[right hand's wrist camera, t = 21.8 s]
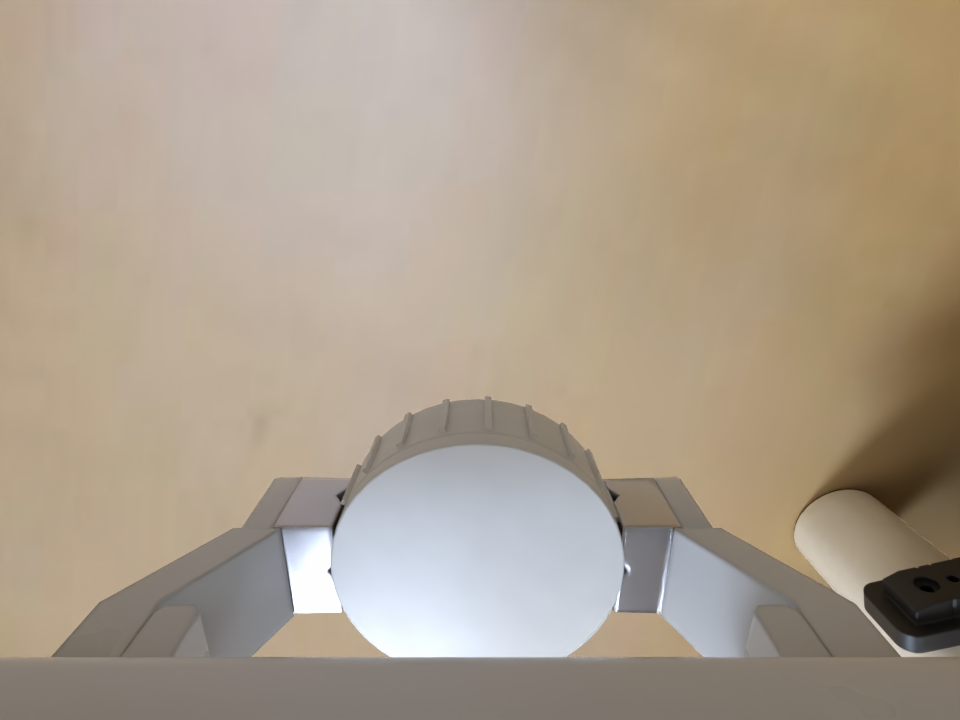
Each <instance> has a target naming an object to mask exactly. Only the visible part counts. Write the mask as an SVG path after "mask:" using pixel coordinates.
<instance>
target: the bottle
mask: <svg viewBox="0 0 960 720" xmlns="http://www.w3.org/2000/svg"><path fill="white" fill-rule="evenodd" d="M794 539H795V543H796V546H797V548H798V550H799V551H800V553H801V554H802V555H803V556H804V557H805V559H806V560H807V561H808V562H809V563H810V564H811V565H812V567H813V568H814V569H815V570H816V571H817V572H818V573H819V575H820V576H821V577H822V578H823V579H824V580H825V581H826V583H827V584H828V585H829V586H830V587H831V588H832V589H833V591H834V592H836V593H837V594H839V595H841V596H843V597H845V598H846V599H848V600H850V601H852V602H853V603H855V604H856V605H857V606H858V607H859V608H860V610H861V611H862V612H863V613H864V614H865V615H866V616H867V618H868V619H869V620H870V621H871V622H872V623H873V625H874V626H875V627H876V628H877V629H878V630H879V632H880V633H881V634H882V635H883V636H884V637H885V638H886V640H887V641H888V642H889V643H890V644H891V645H892V647H893V648H894V649H895V650H896V651H897V652H898V654H899V655H900V656H901V657H960V646H955V647H950V648H946V649H941V650H936V651H931V652H926V653H912V652H909V651H906V650H904V649H902V648H900V647H899V646H898V645H896V644H895V643H894V641H893V640H892V639H891V638H890V637H889V636H888V635H887V634H886V633H885V631H884V630H883V629H882V628H881V627H880V626H879V625H878V624H877V623H876V621H875V620H874V619H873V618H872V617H871V616H870V615H869V614H868V613H867V611H866V610H865V608H864V592H863V589H864V586H865V585H866V584H868V583H871V582H876V581H880V580H883V579H884V578H886V577H887V576H889V575H891V574H893V573H895V572H897V571H900V570H905V569H909V568H914V567H916V568H918V566H923V565H927V564H928V565H931V564H932V563H936V562H941V561H946V560H950V559H951V558H950V557H949V556H947V555H946V554H945V553H944V552H942V551H941V550H940V549H939V548H937V547H936V546H935V545H934V544H932V543H931V542H930V541H929V540H927V539H926V538H925V537H924V536H922V535H921V534H920V533H919V532H917V531H916V530H915V529H914V528H912V527H911V526H910V525H909V524H907V523H906V522H905V521H904V520H902V519H901V518H900V517H899V516H897V515H896V514H895V513H893V512H892V511H891V510H890V509H888V508H887V507H886V506H885V505H883V504H882V503H881V502H880V501H878V500H877V499H876V498H875V497H873V496H872V495H870V494H868V493H865V492H863V491H858V490H839V491H835V492H831V493H829V494H826V495H824V496H822V497H820V498H818V499H817V500H815V501H814V502H812V503H811V504H810V505H809V506H808V507H807V508H806V509H805V510H804V511H803V512H802V514H801V515H800V517H799V519H798V521H797V523H796V526H795V530H794Z"/></svg>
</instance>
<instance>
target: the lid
mask: <svg viewBox="0 0 960 720" xmlns="http://www.w3.org/2000/svg"><path fill="white" fill-rule="evenodd" d="M613 503H614V502H613V500H612V497H611V495H610V493H609V490H608V489H607V487H606V485H605V482H604V480H602V477H601V475H600V472H599V470H598V467H597V465H596V462H595V460H594V457H593V455H592V452H591V451H590V450H589V449H588V450H586V451H585V450H584V448H583V447H582V446H581V445H580V444H579V443H578V441H577V440H576V439H575V438H574V437H573V436H572V435H571V434H570V433H569V432H568V429H567V426H566V425H565V424H564V423H561V424H560V425H559V424H557V423H556V422H554V421H552V420H551V419H549V418H547V417H546V416H544V415H542V414H540V413H537V412H535V411H533V410H532V406H530V405H527V404H526V406H525V407H522V406H519V405H515V404H512V403H507V402H501V401H496V400H491V397H485V400H480V399H476V400H460V401H454V402H450V401H449V399H446V400H443V404H440V405H437V406H433V407H430V408H427V409H424V410H422V411H420V412H418V413H416V414H414V415H412V414H411V413H410V412H409V413H408V414H406V415H405V417H404V420H403V421H401V422H400V423H398V424H397V425H395V426H394V427H393V428H392V429H390V430H389V431H388V432H387V433H386V434H384V435H383V436H382V437H381V436H379V435H378V436H377V437H376V438H375V440H374V442H373V445H372V447H371V450H370V452H369V454H368V455H367V457H366V458H365V460H364V462H363V464H362V466H361V465H358V464H357V466H356V468H355V470H354V473H353V475H352V477H351V480H350V482H349V484H348V487H347V489H346V491H345V494H344V496H343V499H342V501H341V504H342V505H345V506H344V509H343V512H342V514H341V516H340V519H339V521H338V524H337V526H336V530H335V533H334V537H333V540H332V547H331V555H330V559H331V574H332V579H333V584H334V589H335V592H336V594H337V597H338V600H339V602H340V604H341V606H342V608H343V610H344V612H345V613H346V615H347V617H348V618H349V620H350V621H351V622H352V624H353V625H354V626H355V628H356V629H357V630H358V631H359V632H360V633H361V634H362V635H363V636H364V637H365V638H366V639H367V640H368V641H369V642H370V643H371V644H373V645H374V646H375V647H376V648H378V649H379V650H380V651H382V652H383V653H385V654H386V655H388V656H390V657H566V656H567V655H569V654H571V653H572V652H574V651H575V650H576V649H578V648H579V647H580V646H581V645H583V644H584V643H585V642H586V641H588V640H589V639H590V637H591V636H592V635H593V634H594V633H595V632H596V631H597V630H598V629H599V628H600V627H601V625H602V624H603V622H604V621H605V620H606V618H607V617H608V615H609V614H610V612H611V610H612V608H613V606H614V604H615V602H616V600H617V597H618V594H619V591H620V589H621V584H622V579H623V574H624V549H623V541H622V537H621V534H620V531H619V528H618V524H617V522H618V514H617V512H616V509H615V507H614V505H613Z"/></svg>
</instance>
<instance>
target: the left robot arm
mask: <svg viewBox="0 0 960 720" xmlns="http://www.w3.org/2000/svg"><path fill="white" fill-rule="evenodd" d="M863 592H864V608H865V610H866V611H867V613H868V614H869V615H870V616H871V617H872V618H873V619H874V620H875V621H876V623H877V624H878V625H879V626H880V627H881V628H882V629H883V630H884V631H885V633H886V634H887V635H888V636H889V637H890V638H891V639H892V640H893V641H894V643H895V644H896V645H898V646H899V647H900V648H902V649H904V650H906V651H909V652H912V653H926V652H931V651H936V650H941V649H946V648H950V647H955V646H960V557H959V558H955V559H950V560H946V561H941V562H936V563H932V564H931V565H928V564H927V565H923V566H918V568H916V567H914V568H909V569H905V570H900V571H897V572H895V573H893V574H891V575H889V576H887V577H886V578H884V579H883V580H880V581H876V582H871V583H868V584H866V585H865V586H864V589H863Z"/></svg>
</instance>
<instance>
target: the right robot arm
mask: <svg viewBox="0 0 960 720" xmlns="http://www.w3.org/2000/svg"><path fill="white" fill-rule="evenodd" d="M350 480H351V478H307V477H305V478H302V477H280V478H277V479H275V480H274V481H273V482H272V484H271V485H270V487H269V488H268V490H267V491H266V493H265V494H264V496H263V497H262V499H261V500H260V502H259V503H258V505H257V506H256V508H255V509H254V510H253V512H252V513H251V515H250V516H249V518H248V519H247V521H246V522H245V524H244V525H243V527H242V528H233V529H231V530H230V531H228V532H226V533H224V534H222V535H221V536H219V537H217V538H215V539H213V540H212V541H210V542H208V543H206V544H204V545H202V546H201V547H199V548H197V549H195V550H193V551H192V552H190V553H188V554H186V555H184V556H183V557H181V558H179V559H177V560H175V561H174V562H172V563H170V564H168V565H166V566H165V567H163V568H161V569H159V570H157V571H156V572H154V573H152V574H150V575H148V576H146V577H145V578H143V579H141V580H139V581H137V582H136V583H134V584H132V585H130V586H128V587H127V588H125V589H123V590H121V591H119V592H118V593H116V594H114V595H112V596H110V597H109V598H107V599H105V600H103V601H101V602H99V603H98V605H97V606H96V607H95V608H94V609H93V610H92V611H91V612H90V614H89V615H88V616H87V617H86V618H85V619H84V620H83V622H82V623H81V624H80V625H79V626H78V627H77V628H76V629H75V631H74V632H73V633H72V634H71V635H70V636H69V637H68V638H67V640H66V641H65V642H64V643H63V644H62V645H61V646H60V647H59V649H58V650H57V651H56V652H55V653H54V654H53V655H52V657H0V720H960V657H901V656H900V655H899V654H898V652H897V651H896V650H895V649H894V648H893V647H892V645H891V644H890V643H889V642H888V641H887V640H886V638H885V637H884V636H883V635H882V634H881V633H880V632H879V630H878V629H877V628H876V627H875V626H874V625H873V623H872V622H871V621H870V620H869V619H868V618H867V616H866V615H865V614H864V613H863V612H862V611H861V610H860V608H859V607H858V606H857V605H856V604H855V603H853V602H852V601H850V600H848V599H846V598H845V597H843V596H841V595H839V594H837V593H836V592H834V591H832V590H830V589H828V588H827V587H825V586H823V585H821V584H820V583H818V582H816V581H814V580H812V579H811V578H809V577H807V576H805V575H804V574H802V573H800V572H798V571H796V570H795V569H793V568H791V567H789V566H787V565H786V564H784V563H782V562H780V561H779V560H777V559H775V558H773V557H771V556H770V555H768V554H766V553H764V552H762V551H761V550H759V549H757V548H755V547H754V546H752V545H750V544H748V543H746V542H745V541H743V540H741V539H739V538H737V537H736V536H734V535H732V534H730V533H729V532H727V531H725V530H723V529H721V528H713V527H712V526H711V524H710V523H709V521H708V520H707V518H706V517H705V515H704V514H703V512H702V511H701V509H700V508H699V506H698V505H697V503H696V502H695V500H694V499H693V497H692V496H691V494H690V493H689V491H688V490H687V488H686V487H685V485H684V484H683V482H682V481H681V479H679V478H677V477H661V478H633V479H602V480H604V482H605V485H606V487H607V489H608V490H609V493H610V495H611V497H612V500H613V502H614V503H613V505H614V507H615V509H616V512H617V514H618V522H617V524H618V528H619V531H620V534H621V537H622V541H623V549H624V574H623V579H622V584H621V589H620V591H619V594H618V597H617V600H616V602H615V604H614V606H613V611H614V612H635V613H661V616H662V617H663V618H664V619H665V620H666V621H667V622H668V623H669V624H670V625H671V626H672V627H673V628H675V629H676V630H677V631H678V632H679V633H680V634H681V635H682V636H683V637H684V638H685V639H686V640H687V641H688V642H689V643H690V644H691V645H692V646H693V647H694V648H695V649H696V650H697V651H698V652H699V653H700V654H701V655H702V656H703V657H251V656H252V655H254V654H255V653H256V652H257V651H258V650H259V649H260V648H261V647H262V646H263V645H264V644H265V643H266V642H267V641H268V640H269V639H270V638H271V637H272V636H273V635H274V634H275V633H276V632H278V631H279V630H280V629H281V628H282V627H283V626H284V625H285V624H286V623H287V622H288V621H289V620H290V619H291V618H292V617H293V616H294V614H293V613H320V612H342V606H341V604H340V602H339V600H338V597H337V594H336V592H335V589H334V584H333V579H332V574H331V559H330V555H331V547H332V540H333V537H334V533H335V530H336V526H337V524H338V521H339V519H340V516H341V514H342V512H343V509H344V506H345V505H342V504H341V501H342V499H343V496H344V494H345V491H346V489H347V487H348V484H349V482H350Z"/></svg>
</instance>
